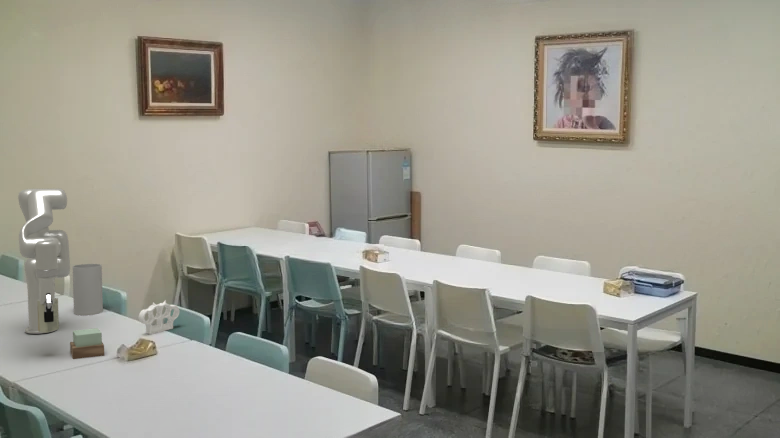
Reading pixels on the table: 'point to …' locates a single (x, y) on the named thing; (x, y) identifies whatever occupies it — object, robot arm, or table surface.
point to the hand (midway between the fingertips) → (48, 319)
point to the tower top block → (87, 337)
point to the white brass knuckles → (159, 317)
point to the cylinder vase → (87, 289)
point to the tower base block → (86, 351)
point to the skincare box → (47, 325)
